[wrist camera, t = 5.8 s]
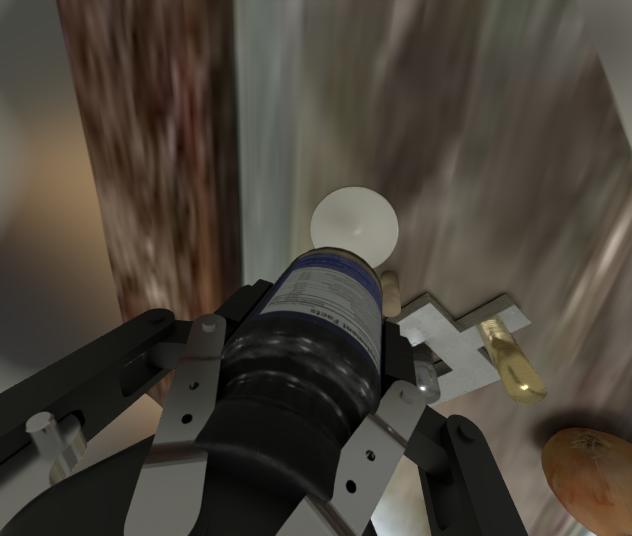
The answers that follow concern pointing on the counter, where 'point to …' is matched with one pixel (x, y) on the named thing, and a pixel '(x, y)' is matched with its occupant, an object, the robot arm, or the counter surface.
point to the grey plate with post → (473, 347)
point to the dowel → (390, 294)
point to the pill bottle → (299, 377)
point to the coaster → (356, 224)
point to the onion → (592, 478)
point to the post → (426, 373)
